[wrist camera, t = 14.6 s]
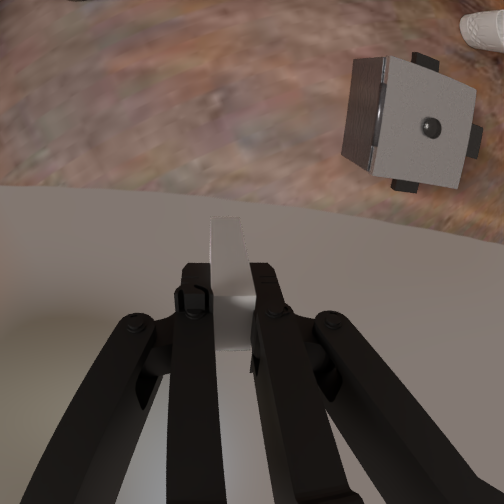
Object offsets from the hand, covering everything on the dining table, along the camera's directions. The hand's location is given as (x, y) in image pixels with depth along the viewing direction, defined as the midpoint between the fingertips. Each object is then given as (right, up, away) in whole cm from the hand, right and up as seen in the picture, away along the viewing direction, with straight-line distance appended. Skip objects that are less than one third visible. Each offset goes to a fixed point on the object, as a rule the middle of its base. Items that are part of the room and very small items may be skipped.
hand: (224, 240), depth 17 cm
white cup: (+40, +39, +18) cm, 59 cm away
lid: (+25, +16, +18) cm, 35 cm away
